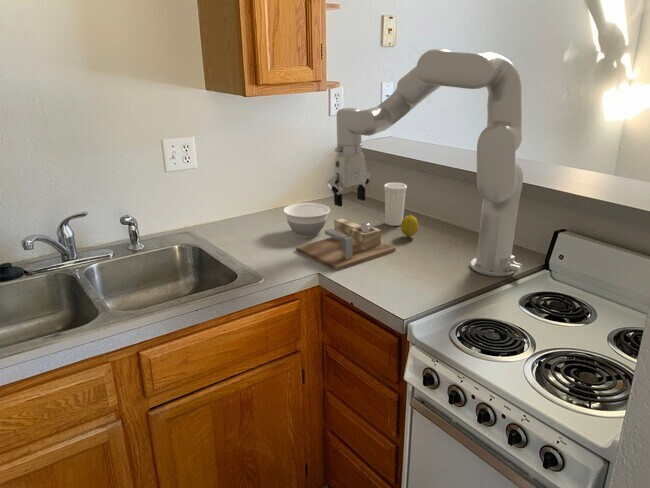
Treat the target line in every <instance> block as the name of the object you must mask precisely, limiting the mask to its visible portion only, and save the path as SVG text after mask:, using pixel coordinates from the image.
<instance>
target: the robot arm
mask: <svg viewBox="0 0 650 488" xmlns="http://www.w3.org/2000/svg"><path fill="white" fill-rule="evenodd" d="M417 60H418V61H417V62H416V66H415V67H413V68H412V69H411V70H410V71H409V72H407V73H406V74H405V75H404V76H403V77H401V78H400V79H399V80H398V81H397V83H396V88H395V90H394V91H393V93H392V94H390V95H389V96H388V97H387V98H386V99H385V100H383V101H382V102H381V103H380V104H378V105H377V106H374V107H371V108H367V109H364V110H360V109H359V108H355V107H354V108H353V107H348V108H346V107H345V108H340V109H338V110H337V112H336V147H335V148H334V151H335V152H336V153H337V154H336V155H335V157H334V158H335V159H334V167H333V168H334V169H333V176H331V178H329V179H328V180H327V185H328V188H329V190H330V191H331V192H332V193H333V198H334V199H333V201H334V205H335V206H336V207H343V194H342V191H343V190H344V188H345V189H348V188H352V187H356V195H357V196H356V198H357V199H358V200H360V201H366V189H367V186H368V184H369V183H370V178H371V176H372V173H371V172H369V171H367V165H366V159H365V155H364V152H362V136H368V137H369V136H373V135H375V134H378V133H381V132H384V131H386V130H388V129H390V128H391V127H392V126H393V125H395V124H396V123H397V122H398V121H400V120H401V119H402V118H404V117H405V116H406V115H408V114H409V113H410V112H411V111H412V110H413V109H415V108H416V106H418V105H419V104H420V103H421V102H422V101H424V100H425V99H426V98H427V97H429V96H431V94H433V93H434V92H435V91H437V90H438V89H439V88H441V87H449V88H458V89H466V90H467V89H468V90H478V89H479V90H480V89H483V88H486V89H487V92H488V95H487V104H486V107H487V119H486V120H487V121H486V122H487V123H486V127H485V128H484V129H483V130H482V131H481V132H480V134H479V136H478V139H477V144H476V186H477V190H478V193H479V195H480V197H481V198H482V199H483V200H482V206H481V213H480V214H481V215H480V223H479V231H478V232H479V233H478V241H477V249H476V250H477V253H476V257H474V258H473V259H471V261H470V264H469V266H470V268H471V269H472V270H473V271H474V272H477V273H479V274H480V275H485V276H491V277H508V276H510V275H513V274H514V273H517V274H520V273H521V272H522V269H523V264H522V263H519V262H516V261H515V258H516V256H515V255H513V249H514V240H515V232H516V231H515V230H516V225H517V219H518V211H519V204H520V198H521V193H522V190H523V184H524V174H523V170H522V168H521V166H520V164H518V163H517V162H516V151H518V148H519V147H520V146H521V144H522V136H523V135H522V116H523V115H522V111H523V110H522V81H521V76H520V74H519V71H518V70H517V67H516V66H515V65H514V63H513V62H511V60H509V59H508V58H506V57H504V56H503V55H500V54H498V53H495V52H488V51H485V52H480V53H479V52H478V53H472V52H458V51H450V50H449V49H446V48H433V49H430V50H427V51H425V52H424V53H423V54H422V55H421V56H420V57H419V58H418V59H417Z"/></svg>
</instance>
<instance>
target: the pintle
mask: <svg viewBox="0 0 650 488" xmlns="http://www.w3.org/2000/svg"><path fill="white" fill-rule="evenodd" d="M360 225H361V232H363V233H367V232H370V226H371V223H370V222H364V221H363V222H361V224H360Z"/></svg>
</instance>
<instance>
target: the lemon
mask: <svg viewBox="0 0 650 488" xmlns="http://www.w3.org/2000/svg"><path fill="white" fill-rule="evenodd" d="M400 228H401V230H400V231H401V232H402V234H403V235H405V236H406V237H408V238H411V237H412V236H414V235H416V234H417V231H418V229H419V222H418V219H417V218H416V217H415V216H414V215H412V214H409V215H406V216H405V217H403V220H402V224H401V225H400Z"/></svg>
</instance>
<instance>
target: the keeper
mask: <svg viewBox="0 0 650 488" xmlns="http://www.w3.org/2000/svg"><path fill="white" fill-rule="evenodd" d="M324 234H325V235H326V236H328V237H329V238H330V237H333V238H335V239H337V240H340V241H342V259H344V260H349V259H352V242H353V238H352V237H350V236H347V235H345V234H342V233H340V232H338V231H335V230H334V229H332V228H329V229H325V230H324Z"/></svg>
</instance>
